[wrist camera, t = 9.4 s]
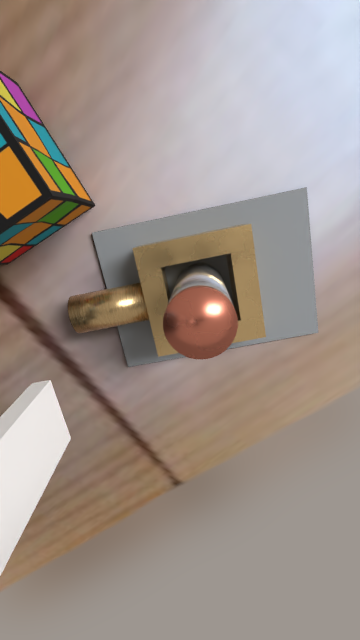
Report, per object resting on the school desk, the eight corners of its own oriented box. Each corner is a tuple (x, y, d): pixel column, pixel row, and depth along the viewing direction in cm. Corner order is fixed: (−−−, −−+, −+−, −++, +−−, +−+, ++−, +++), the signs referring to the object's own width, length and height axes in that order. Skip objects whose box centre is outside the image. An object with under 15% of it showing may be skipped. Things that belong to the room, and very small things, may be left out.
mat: (128, 365, 34) (128, 367, 33) (93, 232, 30) (91, 232, 30) (316, 331, 33) (318, 332, 32) (305, 187, 29) (306, 187, 28)
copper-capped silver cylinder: (181, 313, 32) (171, 364, 20) (172, 268, 30) (155, 295, 19) (227, 304, 31) (243, 352, 20) (219, 258, 30) (231, 281, 18)
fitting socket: (95, 355, 33) (85, 369, 30) (67, 260, 30) (52, 264, 27) (257, 325, 32) (266, 337, 29) (243, 223, 29) (251, 223, 26)
